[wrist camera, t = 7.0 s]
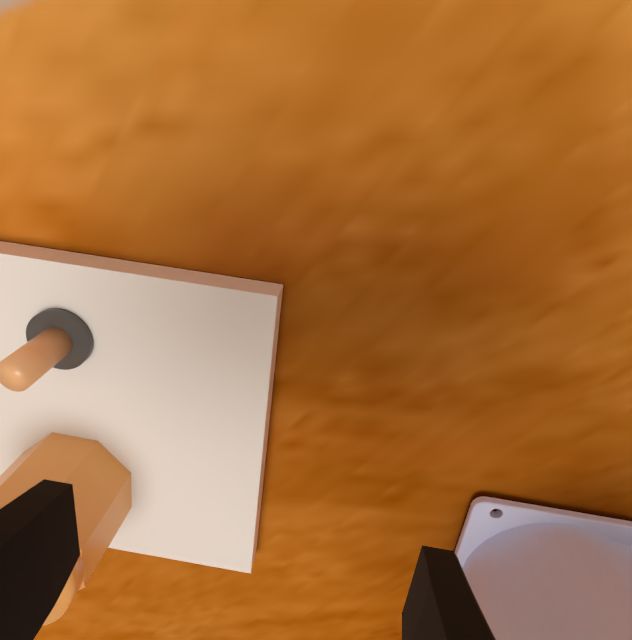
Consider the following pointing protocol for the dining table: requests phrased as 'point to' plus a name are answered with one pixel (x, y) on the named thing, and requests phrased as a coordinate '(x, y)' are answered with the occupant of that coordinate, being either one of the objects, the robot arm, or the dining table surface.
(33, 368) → the junction plate
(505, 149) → the dining table surface
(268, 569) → the dining table surface
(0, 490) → the acorn nut
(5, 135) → the dining table surface
